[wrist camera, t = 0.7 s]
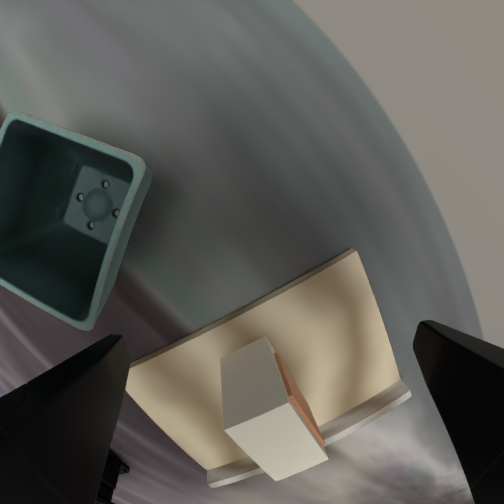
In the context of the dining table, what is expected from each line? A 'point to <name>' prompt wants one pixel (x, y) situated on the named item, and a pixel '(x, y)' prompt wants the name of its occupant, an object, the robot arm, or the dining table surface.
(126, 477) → the dining table surface
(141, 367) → the shelf board
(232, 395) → the carton
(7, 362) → the dining table surface
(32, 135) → the flower pot
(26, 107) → the dining table surface
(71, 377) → the robot arm
